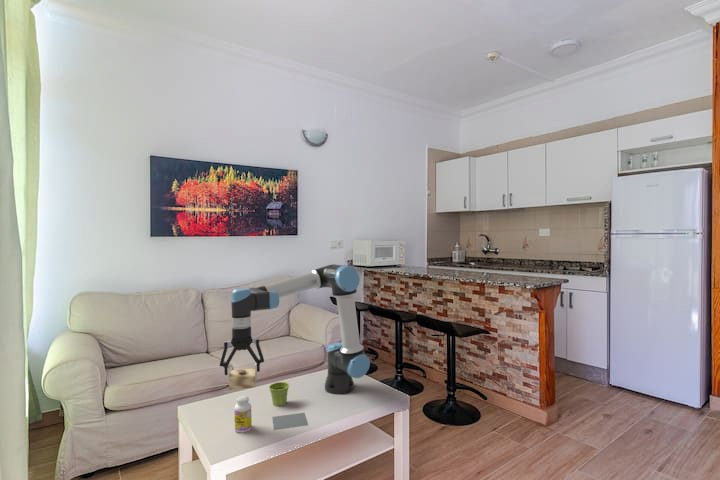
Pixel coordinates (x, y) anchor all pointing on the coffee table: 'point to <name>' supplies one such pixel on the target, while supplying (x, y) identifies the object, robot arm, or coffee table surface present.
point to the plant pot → (279, 393)
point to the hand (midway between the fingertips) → (242, 381)
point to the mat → (289, 421)
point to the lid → (242, 379)
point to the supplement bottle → (243, 415)
